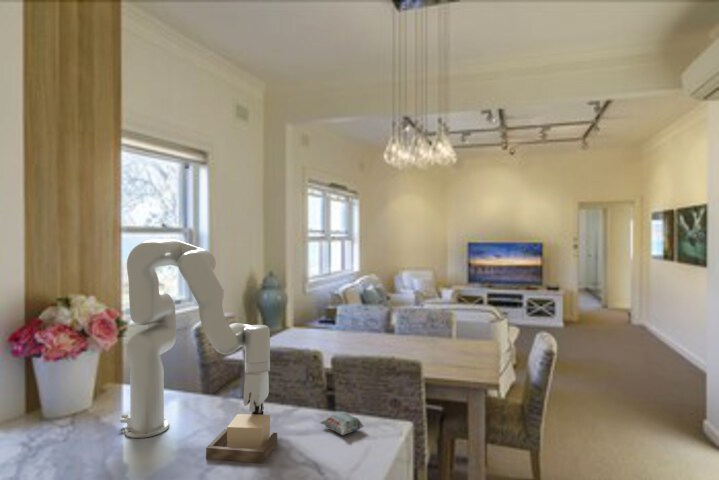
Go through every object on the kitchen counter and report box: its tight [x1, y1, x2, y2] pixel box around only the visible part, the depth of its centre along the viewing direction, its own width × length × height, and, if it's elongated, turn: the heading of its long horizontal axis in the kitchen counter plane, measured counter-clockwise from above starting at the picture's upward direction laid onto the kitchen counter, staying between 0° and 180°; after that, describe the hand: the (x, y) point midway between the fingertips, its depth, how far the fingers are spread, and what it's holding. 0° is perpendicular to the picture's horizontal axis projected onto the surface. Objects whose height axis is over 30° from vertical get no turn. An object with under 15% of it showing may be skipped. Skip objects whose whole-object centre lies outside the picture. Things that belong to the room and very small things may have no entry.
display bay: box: [205, 428, 278, 464], centre depth 126 cm, size 16×12×3 cm
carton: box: [226, 413, 271, 450], centre depth 130 cm, size 10×9×7 cm
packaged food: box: [319, 411, 364, 436], centre depth 139 cm, size 9×12×5 cm
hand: (257, 424), depth 137 cm, fingers closed
